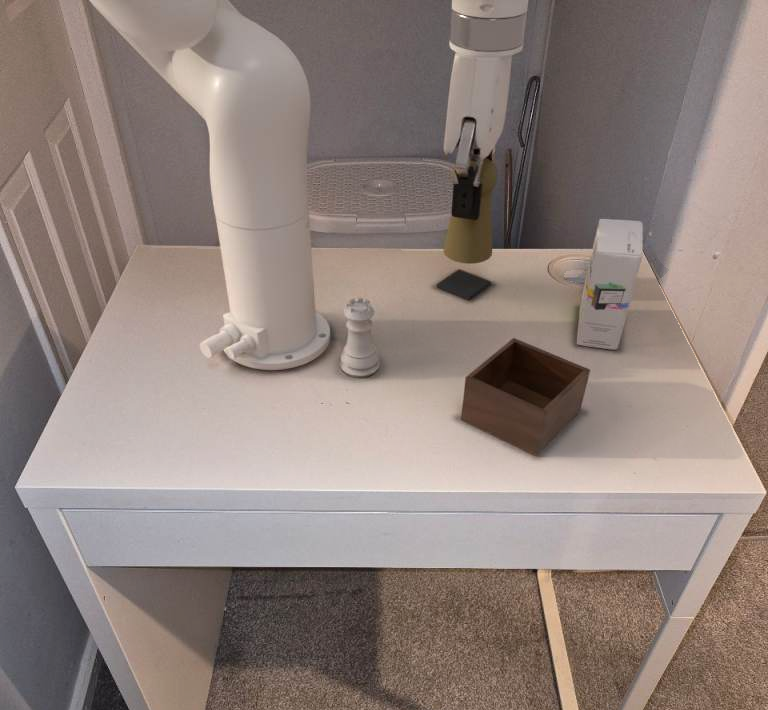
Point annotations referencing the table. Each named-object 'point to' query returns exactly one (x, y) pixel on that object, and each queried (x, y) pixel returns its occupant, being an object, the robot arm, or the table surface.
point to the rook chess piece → (359, 340)
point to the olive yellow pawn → (473, 224)
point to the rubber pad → (463, 284)
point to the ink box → (610, 282)
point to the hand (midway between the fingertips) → (471, 205)
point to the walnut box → (524, 395)
